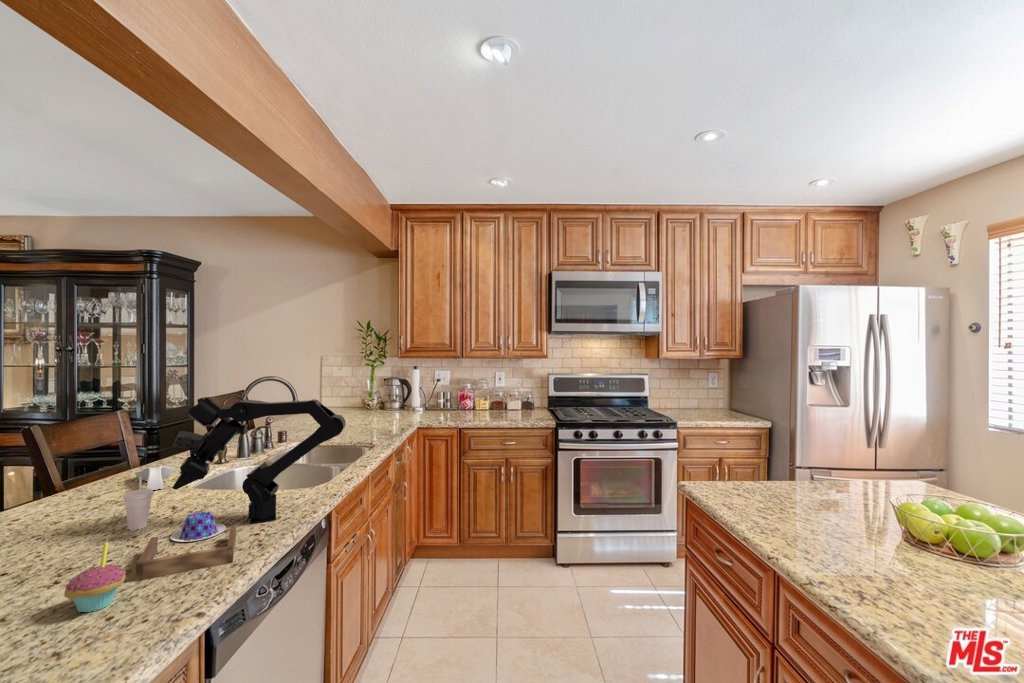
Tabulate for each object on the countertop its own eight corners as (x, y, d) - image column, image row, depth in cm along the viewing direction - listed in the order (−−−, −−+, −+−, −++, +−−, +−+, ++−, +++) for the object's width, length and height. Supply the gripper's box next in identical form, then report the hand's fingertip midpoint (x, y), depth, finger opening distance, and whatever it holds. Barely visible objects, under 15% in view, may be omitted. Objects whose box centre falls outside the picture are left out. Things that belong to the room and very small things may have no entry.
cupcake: (91, 594, 88) (93, 533, 88) (136, 593, 88) (138, 533, 89) (49, 620, 79) (52, 553, 79) (100, 619, 80) (103, 552, 80)
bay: (235, 538, 115) (236, 524, 115) (232, 562, 101) (233, 547, 102) (150, 552, 106) (151, 537, 106) (135, 581, 93) (135, 564, 93)
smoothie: (134, 533, 116) (136, 480, 117) (115, 531, 118) (117, 478, 118) (158, 524, 123) (160, 474, 123) (139, 522, 124) (141, 472, 124)
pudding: (193, 547, 110) (193, 526, 110) (158, 540, 113) (159, 520, 113) (236, 529, 121) (236, 510, 121) (204, 523, 125) (204, 504, 125)
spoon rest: (134, 478, 165) (135, 459, 166) (173, 473, 173) (174, 455, 173) (133, 495, 147) (134, 473, 147) (177, 488, 155) (177, 468, 155)
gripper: (198, 411, 130) (158, 453, 128) (185, 433, 114) (138, 482, 111) (232, 431, 135) (194, 472, 132) (224, 455, 119) (181, 502, 116)
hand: (177, 481), depth 123 cm, fingers open, 9 cm apart
